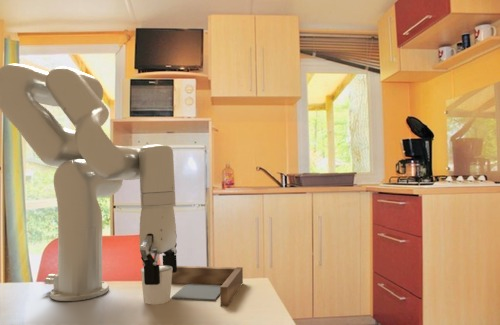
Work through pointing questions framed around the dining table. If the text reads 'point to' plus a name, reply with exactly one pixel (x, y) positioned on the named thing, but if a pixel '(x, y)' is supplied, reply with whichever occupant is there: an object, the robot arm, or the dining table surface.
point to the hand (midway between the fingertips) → (161, 278)
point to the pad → (198, 292)
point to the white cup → (158, 287)
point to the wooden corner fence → (212, 279)
